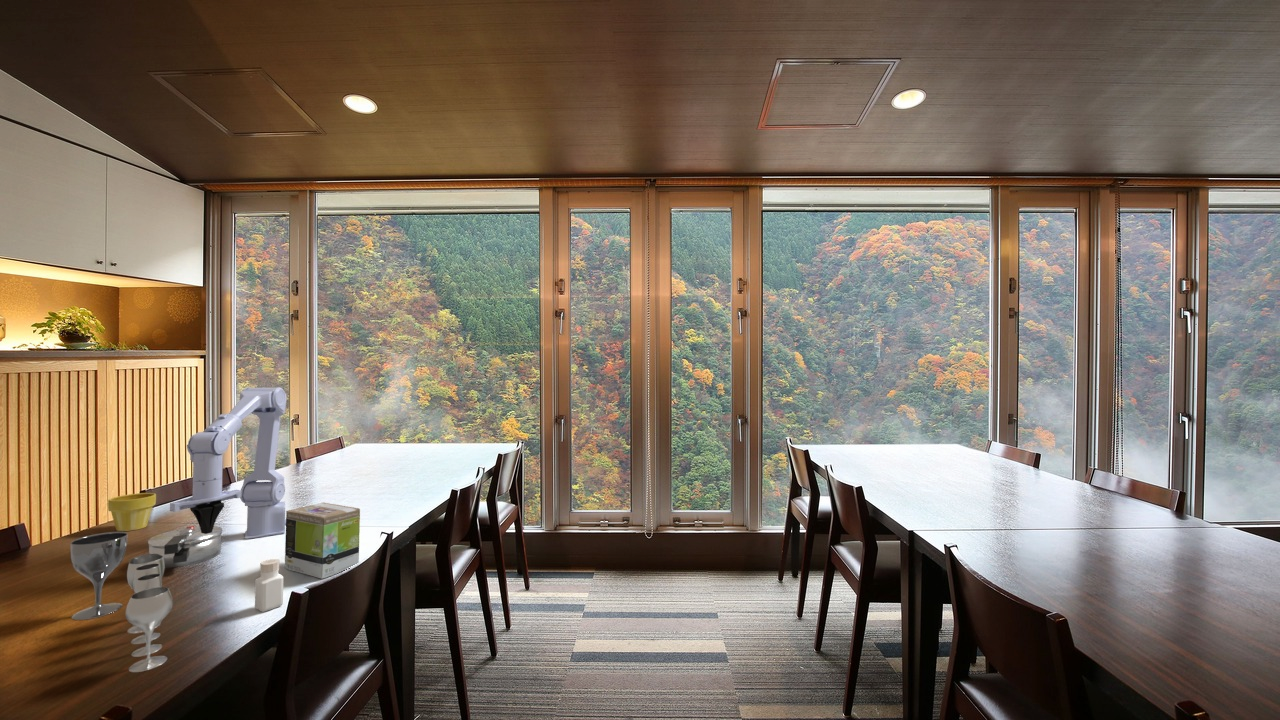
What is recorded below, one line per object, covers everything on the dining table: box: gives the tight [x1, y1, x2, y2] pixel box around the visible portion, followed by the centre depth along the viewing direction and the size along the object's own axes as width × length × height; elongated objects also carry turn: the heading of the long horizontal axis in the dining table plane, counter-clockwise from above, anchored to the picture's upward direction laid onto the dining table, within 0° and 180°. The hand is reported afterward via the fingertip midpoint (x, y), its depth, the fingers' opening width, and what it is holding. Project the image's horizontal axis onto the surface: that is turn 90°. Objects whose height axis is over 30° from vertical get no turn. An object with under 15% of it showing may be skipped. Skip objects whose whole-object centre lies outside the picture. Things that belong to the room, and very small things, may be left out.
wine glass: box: [70, 531, 128, 621], centre depth 103 cm, size 8×8×15 cm
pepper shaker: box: [254, 558, 284, 613], centre depth 105 cm, size 4×4×10 cm
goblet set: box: [125, 553, 174, 673], centre depth 93 cm, size 28×6×13 cm, turn 46°
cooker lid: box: [147, 525, 223, 555], centre depth 129 cm, size 20×14×2 cm
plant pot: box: [107, 492, 157, 532], centre depth 155 cm, size 10×10×10 cm
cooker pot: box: [148, 534, 222, 569], centre depth 129 cm, size 20×14×5 cm
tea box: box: [284, 502, 361, 580], centre depth 126 cm, size 15×10×15 cm
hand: (206, 532), depth 128 cm, fingers closed
